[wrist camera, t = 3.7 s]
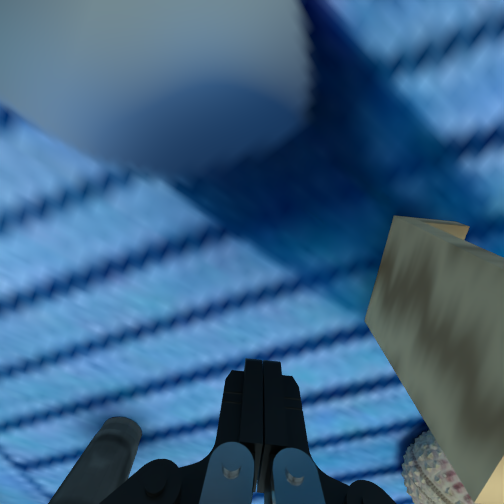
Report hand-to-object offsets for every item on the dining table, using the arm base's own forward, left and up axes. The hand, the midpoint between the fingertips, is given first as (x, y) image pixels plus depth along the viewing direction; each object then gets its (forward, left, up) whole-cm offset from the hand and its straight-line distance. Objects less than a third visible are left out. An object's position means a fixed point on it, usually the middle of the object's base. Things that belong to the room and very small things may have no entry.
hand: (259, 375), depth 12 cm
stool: (0, +13, -13) cm, 18 cm away
